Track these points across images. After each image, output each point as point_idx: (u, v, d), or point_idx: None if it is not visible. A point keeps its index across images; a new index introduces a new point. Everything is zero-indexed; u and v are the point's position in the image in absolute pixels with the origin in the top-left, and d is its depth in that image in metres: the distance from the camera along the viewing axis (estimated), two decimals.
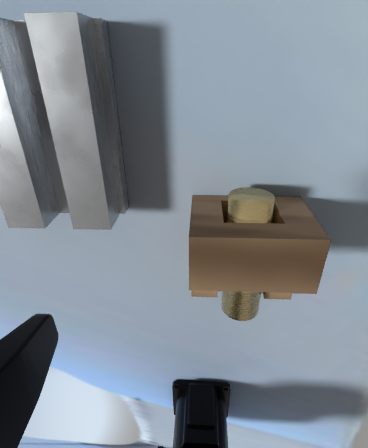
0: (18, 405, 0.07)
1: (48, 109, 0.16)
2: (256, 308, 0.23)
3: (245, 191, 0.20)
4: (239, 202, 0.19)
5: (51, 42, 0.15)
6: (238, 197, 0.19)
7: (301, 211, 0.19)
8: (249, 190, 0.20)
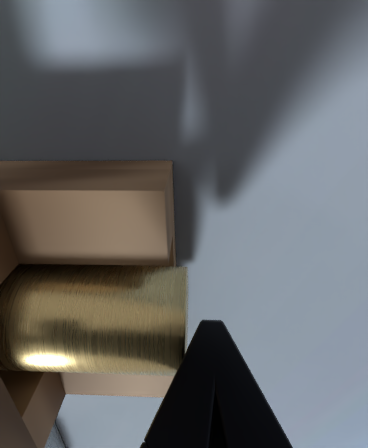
0: None
1: None
2: (151, 314, 0.07)
3: None
4: None
5: None
6: None
7: None
8: None
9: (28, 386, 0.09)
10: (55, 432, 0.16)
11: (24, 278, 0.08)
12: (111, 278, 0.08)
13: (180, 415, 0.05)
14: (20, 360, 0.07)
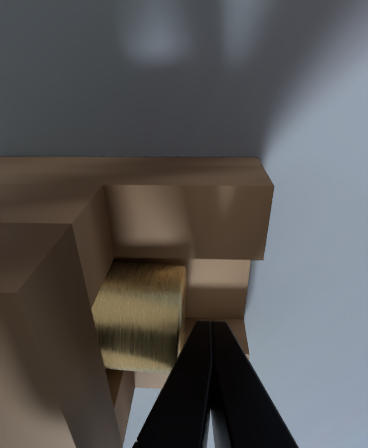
0: (208, 416, 0.07)
1: None
2: (145, 311, 0.07)
3: None
4: None
5: None
6: None
7: None
8: None
9: (112, 378, 0.09)
10: None
11: None
12: (108, 274, 0.08)
13: (174, 414, 0.05)
14: None
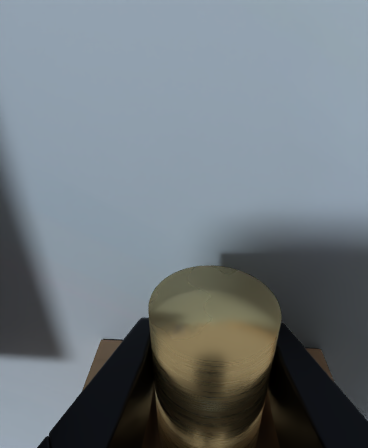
0: (142, 412, 0.07)
1: None
2: None
3: (202, 281, 0.07)
4: (168, 335, 0.06)
5: None
6: (175, 308, 0.07)
7: None
8: (214, 275, 0.08)
9: None
10: None
11: None
12: None
13: (93, 410, 0.05)
14: None
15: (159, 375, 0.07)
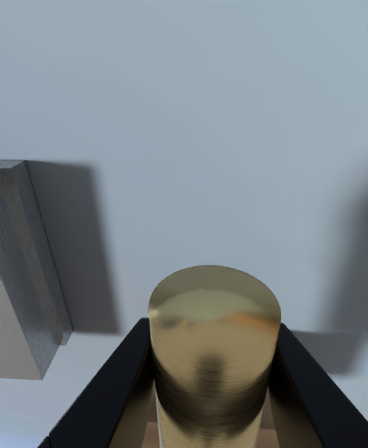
0: (142, 412, 0.07)
1: None
2: None
3: (202, 281, 0.07)
4: (168, 333, 0.06)
5: None
6: (174, 308, 0.07)
7: None
8: (213, 275, 0.08)
9: None
10: None
11: None
12: None
13: (93, 410, 0.05)
14: None
15: (159, 374, 0.07)
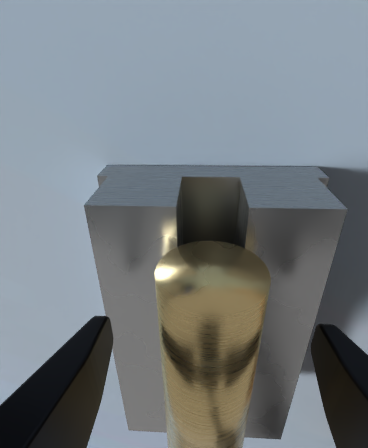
0: (87, 409, 0.07)
1: None
2: None
3: (203, 253, 0.08)
4: (170, 293, 0.07)
5: (281, 246, 0.08)
6: (177, 274, 0.08)
7: None
8: (214, 249, 0.09)
9: None
10: None
11: None
12: None
13: (27, 406, 0.06)
14: (200, 445, 0.09)
15: (162, 330, 0.08)
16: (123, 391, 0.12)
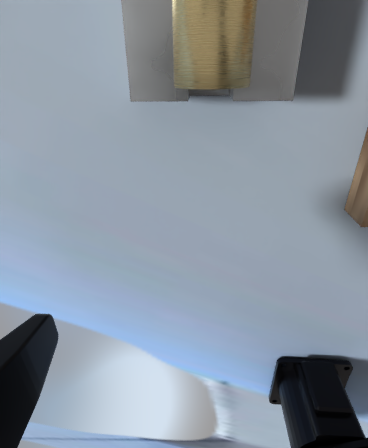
0: (18, 405, 0.07)
1: None
2: (243, 62, 0.10)
3: None
4: None
5: None
6: None
7: None
8: None
9: None
10: None
11: None
12: (254, 24, 0.10)
13: None
14: None
15: None
16: (124, 15, 0.12)
